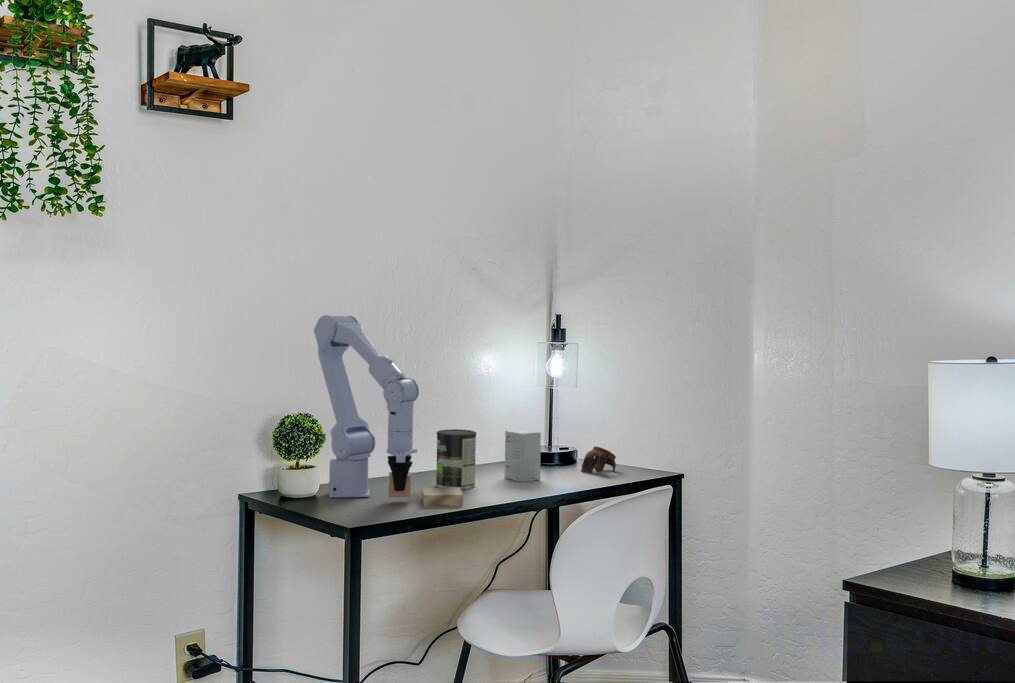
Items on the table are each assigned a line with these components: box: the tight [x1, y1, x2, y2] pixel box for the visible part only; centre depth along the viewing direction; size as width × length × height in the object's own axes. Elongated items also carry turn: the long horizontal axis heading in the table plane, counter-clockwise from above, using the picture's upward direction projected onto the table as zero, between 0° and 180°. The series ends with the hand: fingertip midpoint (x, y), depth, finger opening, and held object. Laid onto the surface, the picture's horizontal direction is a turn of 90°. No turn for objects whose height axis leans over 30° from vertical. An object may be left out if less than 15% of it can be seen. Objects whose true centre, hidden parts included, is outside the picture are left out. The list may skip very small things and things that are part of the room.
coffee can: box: [435, 428, 477, 490], centre depth 225 cm, size 10×10×14 cm
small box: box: [504, 429, 542, 483], centre depth 236 cm, size 8×6×13 cm
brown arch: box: [580, 446, 617, 474], centre depth 249 cm, size 12×10×8 cm
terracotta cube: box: [387, 471, 412, 499], centre depth 203 cm, size 5×5×5 cm
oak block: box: [421, 487, 464, 507], centre depth 204 cm, size 9×9×3 cm
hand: (399, 488), depth 203 cm, fingers closed on terracotta cube, 5 cm apart
